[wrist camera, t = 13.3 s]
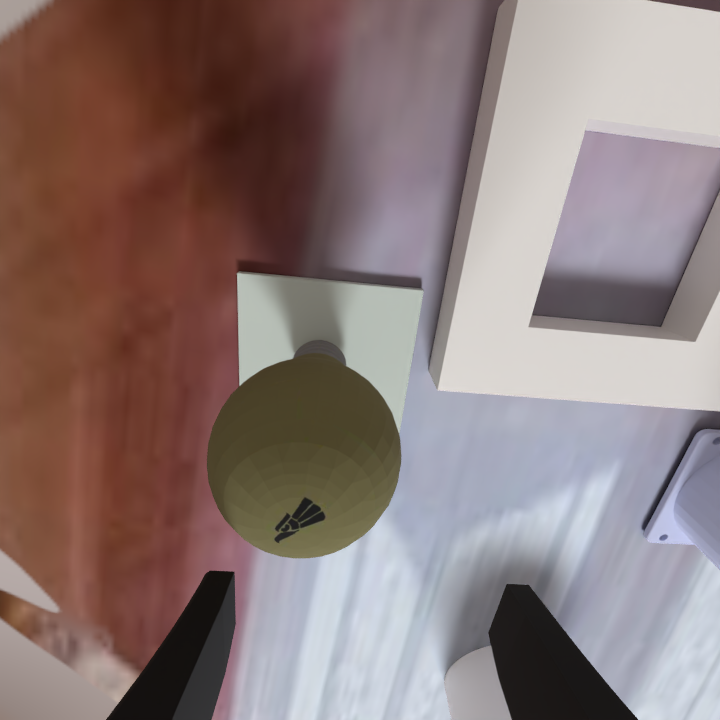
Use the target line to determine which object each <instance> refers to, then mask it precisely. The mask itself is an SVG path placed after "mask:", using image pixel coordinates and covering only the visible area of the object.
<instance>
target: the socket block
mask: <svg viewBox="0 0 720 720" xmlns="http://www.w3.org/2000/svg"><path fill="white" fill-rule="evenodd" d="M585 130H586V131H594V132H601V133H609V134H617V135H624V136H632V137H639V138H647V139H655V140H662V141H670V142H677V143H685V144H693V145H700V146H708V147H716V148H720V12H716V11H710V10H704V9H698V8H692V7H685V6H679V5H673V4H667V3H660V2H654V1H648V0H505V1H504V2H503V3H502V4H501V5H500V6H499V7H498V11H497V16H496V22H495V27H494V32H493V37H492V42H491V48H490V53H489V58H488V63H487V69H486V74H485V79H484V84H483V89H482V95H481V100H480V105H479V110H478V116H477V121H476V126H475V131H474V136H473V142H472V147H471V152H470V157H469V162H468V168H467V173H466V178H465V183H464V189H463V194H462V199H461V204H460V209H459V215H458V220H457V225H456V230H455V235H454V241H453V246H452V251H451V256H450V262H449V267H448V272H447V277H446V282H445V288H444V293H443V298H442V303H441V309H440V314H439V319H438V324H437V329H436V335H435V340H434V345H433V350H432V355H431V361H430V366H429V373H430V375H431V377H432V380H433V382H434V384H435V386H436V388H437V390H439V391H452V392H466V393H479V394H493V395H506V396H520V397H533V398H546V399H560V400H573V401H587V402H600V403H614V404H627V405H641V406H654V407H668V408H681V409H695V410H708V411H720V191H719V194H718V196H717V198H716V201H715V203H714V205H713V208H712V210H711V212H710V215H709V217H708V219H707V221H706V224H705V226H704V228H703V231H702V233H701V235H700V238H699V240H698V242H697V245H696V247H695V249H694V252H693V254H692V256H691V259H690V261H689V263H688V266H687V268H686V270H685V273H684V275H683V277H682V280H681V282H680V284H679V286H678V289H677V291H676V293H675V296H674V298H673V300H672V303H671V305H670V307H669V310H668V312H667V314H666V317H665V319H664V321H663V324H662V326H661V327H657V326H646V325H635V324H624V323H613V322H602V321H591V320H580V319H569V318H558V317H547V316H536V315H532V312H533V309H534V306H535V302H536V299H537V295H538V292H539V288H540V285H541V281H542V278H543V274H544V271H545V268H546V264H547V261H548V257H549V254H550V250H551V247H552V243H553V240H554V236H555V233H556V229H557V226H558V223H559V219H560V216H561V212H562V209H563V205H564V202H565V198H566V195H567V191H568V188H569V185H570V181H571V178H572V174H573V171H574V167H575V164H576V160H577V157H578V153H579V150H580V146H581V143H582V140H583V136H584V133H585Z"/></svg>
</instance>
